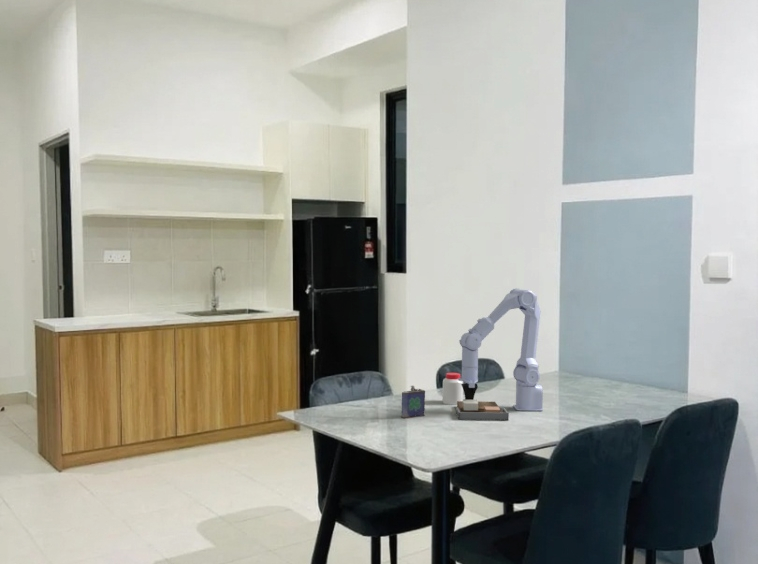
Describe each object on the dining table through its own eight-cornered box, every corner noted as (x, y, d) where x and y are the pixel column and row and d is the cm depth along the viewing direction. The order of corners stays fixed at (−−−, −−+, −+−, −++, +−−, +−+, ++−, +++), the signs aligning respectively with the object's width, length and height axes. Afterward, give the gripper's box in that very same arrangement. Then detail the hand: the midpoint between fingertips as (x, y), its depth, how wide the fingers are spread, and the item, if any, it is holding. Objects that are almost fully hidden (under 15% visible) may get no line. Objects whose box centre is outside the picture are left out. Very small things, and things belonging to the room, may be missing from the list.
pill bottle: (461, 405, 270) (462, 376, 270) (441, 404, 272) (441, 375, 271) (463, 401, 278) (464, 372, 277) (443, 400, 279) (444, 371, 279)
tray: (504, 414, 255) (504, 407, 255) (508, 420, 246) (508, 413, 246) (456, 413, 256) (456, 406, 256) (458, 419, 247) (458, 412, 247)
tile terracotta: (498, 413, 255) (498, 406, 255) (500, 416, 250) (500, 409, 250) (483, 413, 255) (484, 406, 255) (485, 416, 250) (486, 409, 250)
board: (494, 407, 267) (495, 401, 267) (499, 414, 256) (500, 408, 255) (457, 406, 268) (457, 401, 268) (460, 413, 256) (460, 408, 256)
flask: (403, 418, 247) (404, 387, 247) (399, 417, 250) (399, 386, 249) (426, 416, 252) (426, 385, 252) (421, 414, 254) (421, 384, 254)
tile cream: (476, 406, 258) (476, 399, 258) (478, 410, 253) (478, 403, 253) (462, 406, 258) (462, 399, 258) (463, 410, 253) (463, 403, 253)
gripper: (456, 363, 266) (456, 399, 266) (460, 369, 251) (459, 408, 252) (475, 363, 266) (475, 400, 266) (480, 370, 251) (480, 408, 252)
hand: (469, 404), depth 259 cm, fingers closed
